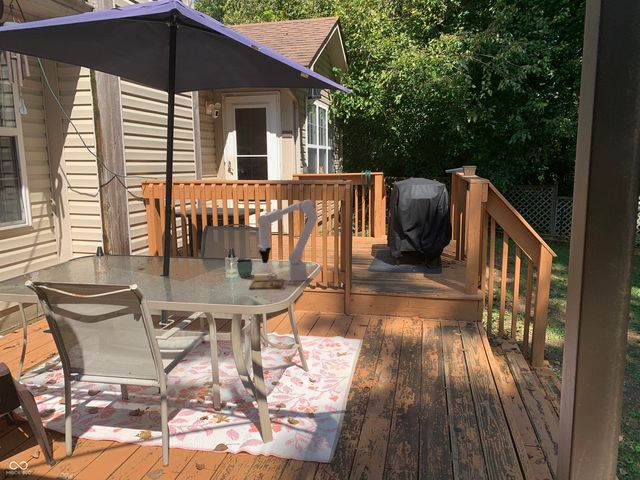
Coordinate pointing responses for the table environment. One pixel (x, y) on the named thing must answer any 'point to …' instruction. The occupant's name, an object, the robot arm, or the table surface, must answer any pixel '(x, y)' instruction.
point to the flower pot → (244, 267)
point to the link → (263, 277)
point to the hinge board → (267, 283)
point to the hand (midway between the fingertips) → (265, 261)
